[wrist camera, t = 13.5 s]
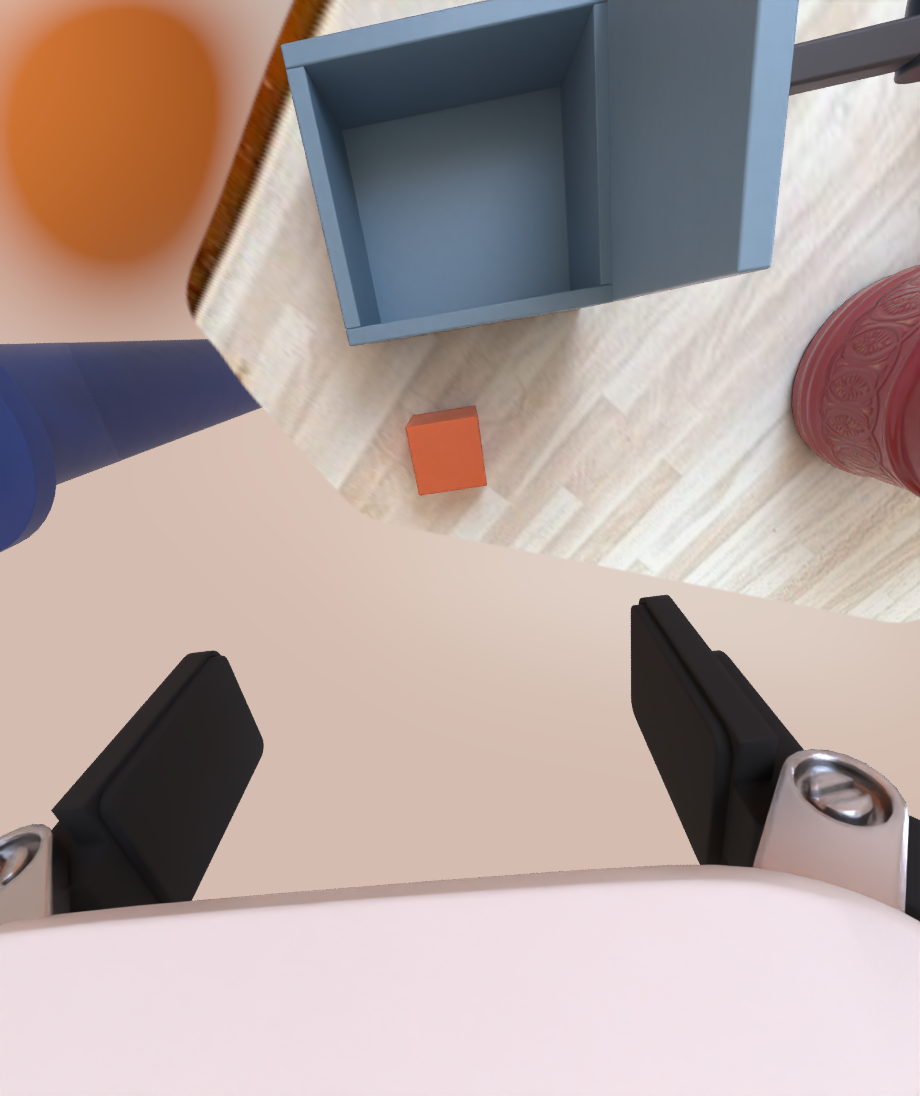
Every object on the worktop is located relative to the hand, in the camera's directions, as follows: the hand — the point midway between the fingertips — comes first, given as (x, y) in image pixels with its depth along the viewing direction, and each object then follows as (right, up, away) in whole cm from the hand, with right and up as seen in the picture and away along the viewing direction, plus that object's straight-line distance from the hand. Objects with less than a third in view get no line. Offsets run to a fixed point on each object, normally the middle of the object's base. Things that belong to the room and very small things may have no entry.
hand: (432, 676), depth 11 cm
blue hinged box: (+1, +23, +18) cm, 29 cm away
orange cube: (0, +11, +23) cm, 25 cm away
